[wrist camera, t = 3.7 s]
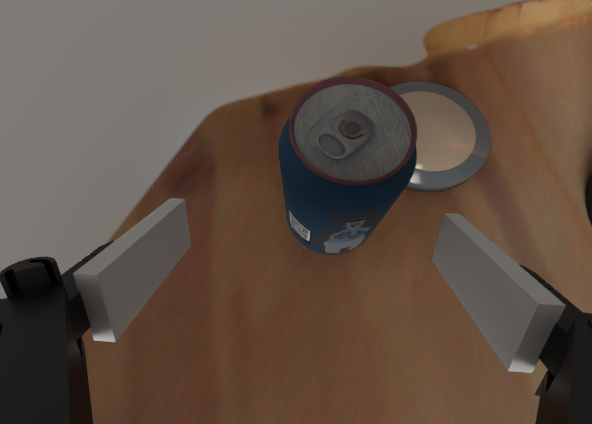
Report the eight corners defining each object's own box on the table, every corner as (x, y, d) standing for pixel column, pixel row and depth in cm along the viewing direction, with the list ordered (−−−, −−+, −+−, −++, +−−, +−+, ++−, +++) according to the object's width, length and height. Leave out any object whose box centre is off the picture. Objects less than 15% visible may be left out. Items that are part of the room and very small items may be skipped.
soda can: (329, 165, 26) (351, 45, 15) (388, 219, 24) (464, 128, 13) (270, 214, 24) (244, 121, 13) (328, 276, 22) (355, 229, 11)
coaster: (455, 83, 29) (462, 72, 28) (503, 179, 25) (513, 172, 24) (347, 100, 29) (349, 90, 27) (379, 202, 25) (384, 195, 23)
